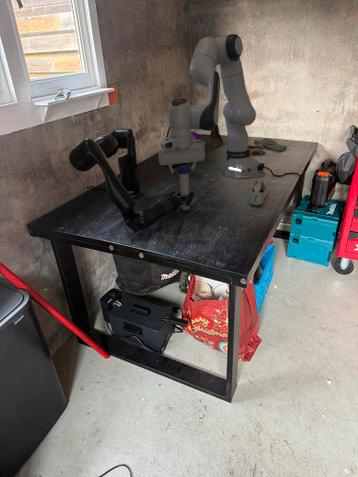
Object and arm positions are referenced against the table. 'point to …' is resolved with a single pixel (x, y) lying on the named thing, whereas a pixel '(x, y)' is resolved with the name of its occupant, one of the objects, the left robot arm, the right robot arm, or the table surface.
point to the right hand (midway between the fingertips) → (182, 172)
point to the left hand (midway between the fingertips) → (188, 193)
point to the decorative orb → (194, 136)
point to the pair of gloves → (267, 144)
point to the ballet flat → (258, 193)
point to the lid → (183, 170)
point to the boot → (215, 137)
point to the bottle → (184, 188)
